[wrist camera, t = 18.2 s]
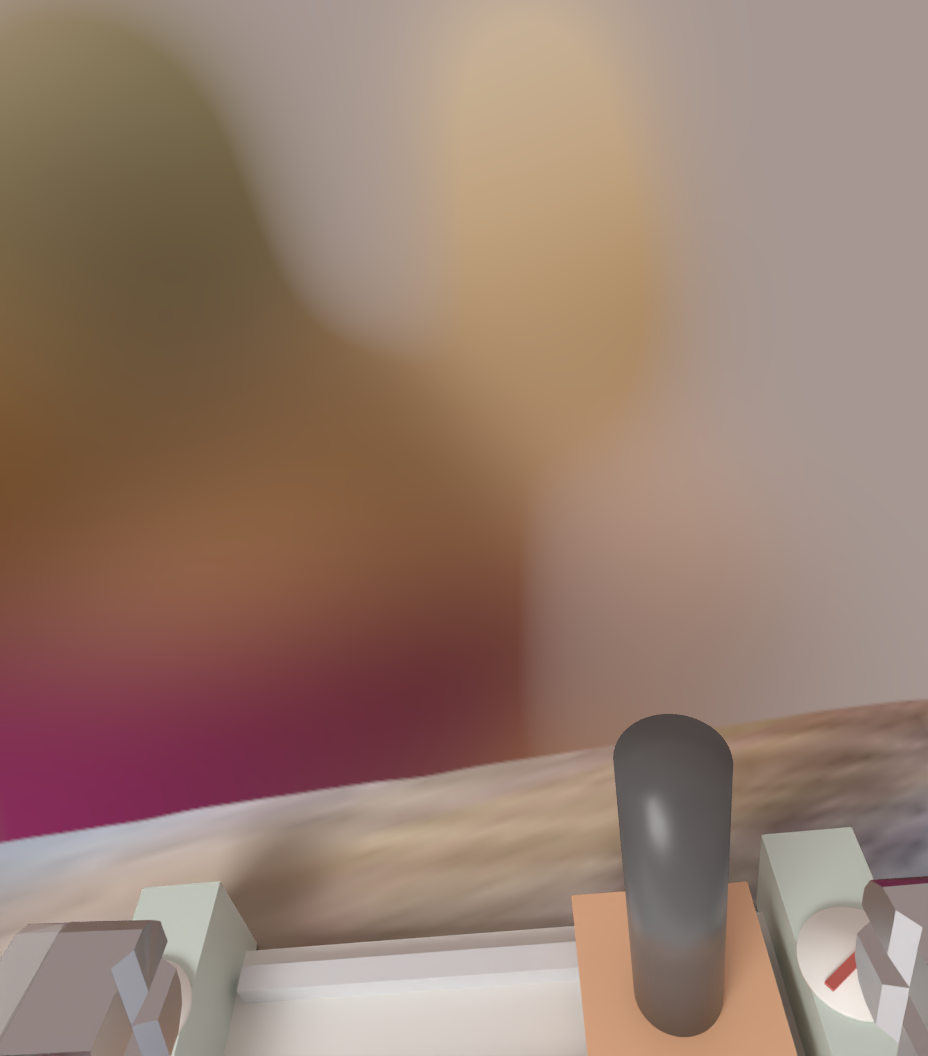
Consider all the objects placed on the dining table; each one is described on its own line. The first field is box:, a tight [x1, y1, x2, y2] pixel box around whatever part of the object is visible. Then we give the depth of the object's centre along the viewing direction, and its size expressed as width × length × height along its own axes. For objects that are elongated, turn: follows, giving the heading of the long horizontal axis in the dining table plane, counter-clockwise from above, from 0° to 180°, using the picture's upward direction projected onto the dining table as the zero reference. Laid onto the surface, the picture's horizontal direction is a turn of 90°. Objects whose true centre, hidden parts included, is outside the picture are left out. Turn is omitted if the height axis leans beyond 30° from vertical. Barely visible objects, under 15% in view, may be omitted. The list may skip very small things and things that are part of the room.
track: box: [132, 827, 899, 1056], centre depth 36 cm, size 34×12×6 cm, turn 90°
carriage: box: [571, 714, 797, 1056], centre depth 31 cm, size 8×9×17 cm
